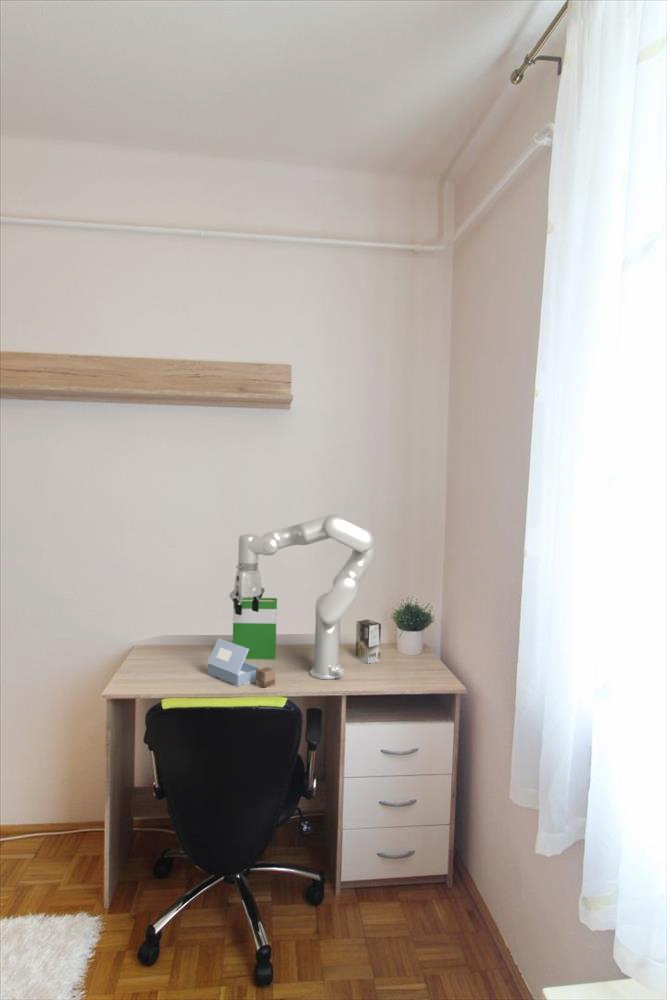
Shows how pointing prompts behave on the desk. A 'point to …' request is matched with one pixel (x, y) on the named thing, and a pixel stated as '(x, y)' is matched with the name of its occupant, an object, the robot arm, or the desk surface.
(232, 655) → the lid
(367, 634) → the coffee box
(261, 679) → the walnut block
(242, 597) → the robot arm
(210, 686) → the desk surface
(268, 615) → the hardback book
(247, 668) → the mailer box
